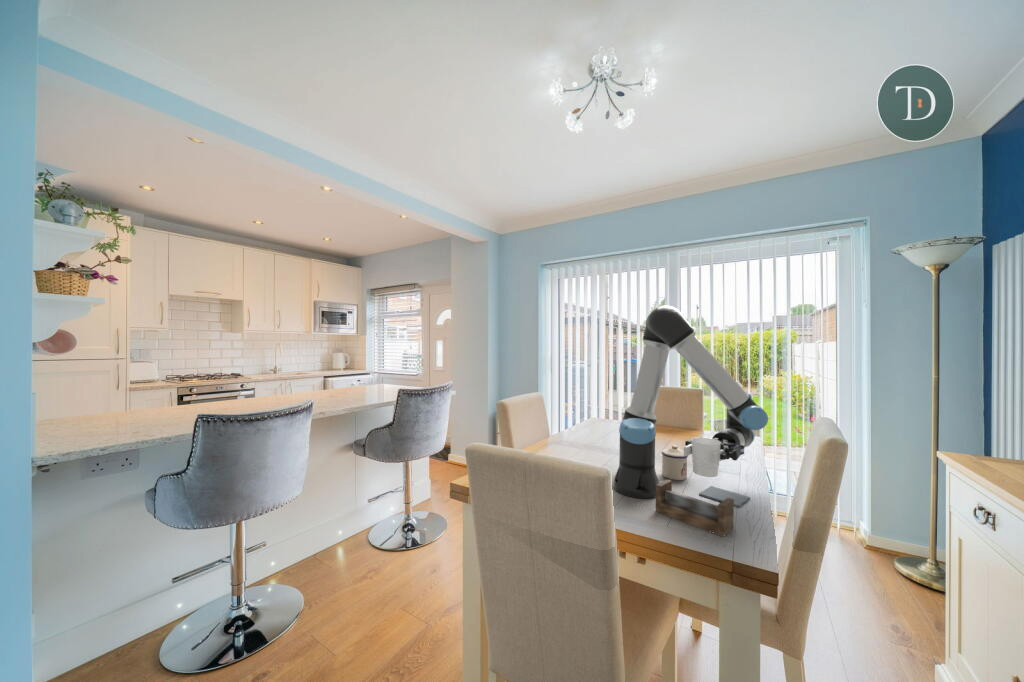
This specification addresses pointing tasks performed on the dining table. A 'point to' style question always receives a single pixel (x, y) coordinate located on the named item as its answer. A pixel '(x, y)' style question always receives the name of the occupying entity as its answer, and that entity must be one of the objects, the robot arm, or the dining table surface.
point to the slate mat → (724, 495)
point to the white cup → (705, 456)
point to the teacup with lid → (674, 463)
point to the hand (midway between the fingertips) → (699, 455)
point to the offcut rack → (695, 509)
